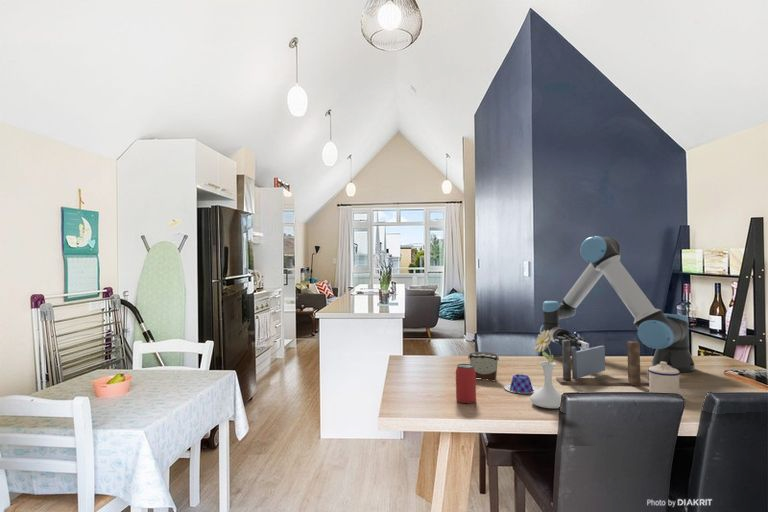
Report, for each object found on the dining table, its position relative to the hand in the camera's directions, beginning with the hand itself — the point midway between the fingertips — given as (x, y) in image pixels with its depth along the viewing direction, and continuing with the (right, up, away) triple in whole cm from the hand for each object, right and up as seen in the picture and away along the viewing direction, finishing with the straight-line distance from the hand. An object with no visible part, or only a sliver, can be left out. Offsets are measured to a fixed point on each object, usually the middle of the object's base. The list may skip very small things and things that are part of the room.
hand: (587, 346), depth 178 cm
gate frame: (-2, -10, -17) cm, 20 cm away
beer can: (-58, -11, -35) cm, 68 cm away
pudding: (-35, -11, -23) cm, 44 cm away
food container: (-44, -11, -7) cm, 46 cm away
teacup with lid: (+10, -10, -32) cm, 35 cm away
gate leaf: (-4, -9, -10) cm, 14 cm away
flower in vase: (-32, -11, -41) cm, 54 cm away
